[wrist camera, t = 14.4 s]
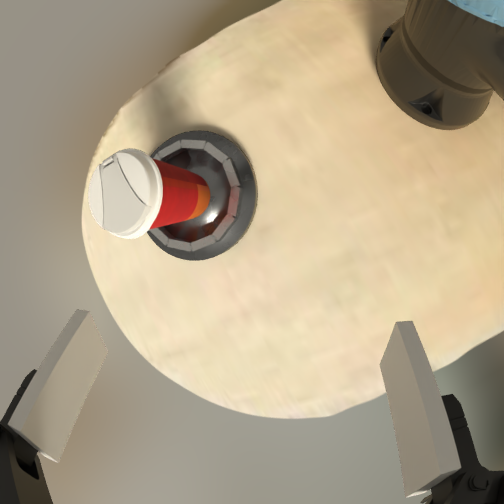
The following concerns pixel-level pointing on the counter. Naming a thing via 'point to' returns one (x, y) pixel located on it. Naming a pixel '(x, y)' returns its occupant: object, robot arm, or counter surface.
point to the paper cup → (143, 194)
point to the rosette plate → (221, 195)
